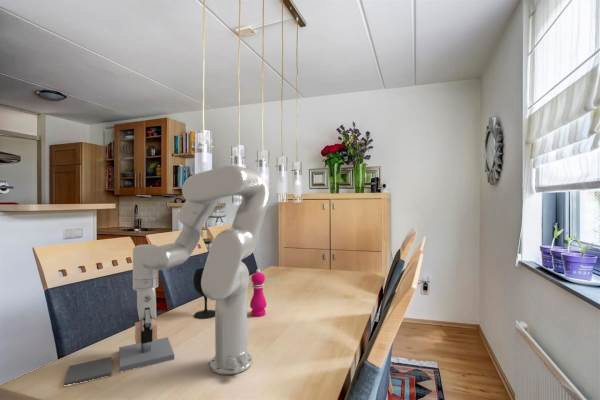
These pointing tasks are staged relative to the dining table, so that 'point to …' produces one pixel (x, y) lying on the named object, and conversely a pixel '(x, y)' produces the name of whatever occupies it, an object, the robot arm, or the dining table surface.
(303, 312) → the dining table surface
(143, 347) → the post
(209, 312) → the wine glass
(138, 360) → the stand
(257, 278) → the pepper mill
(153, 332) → the tan slotted box
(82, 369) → the pad
